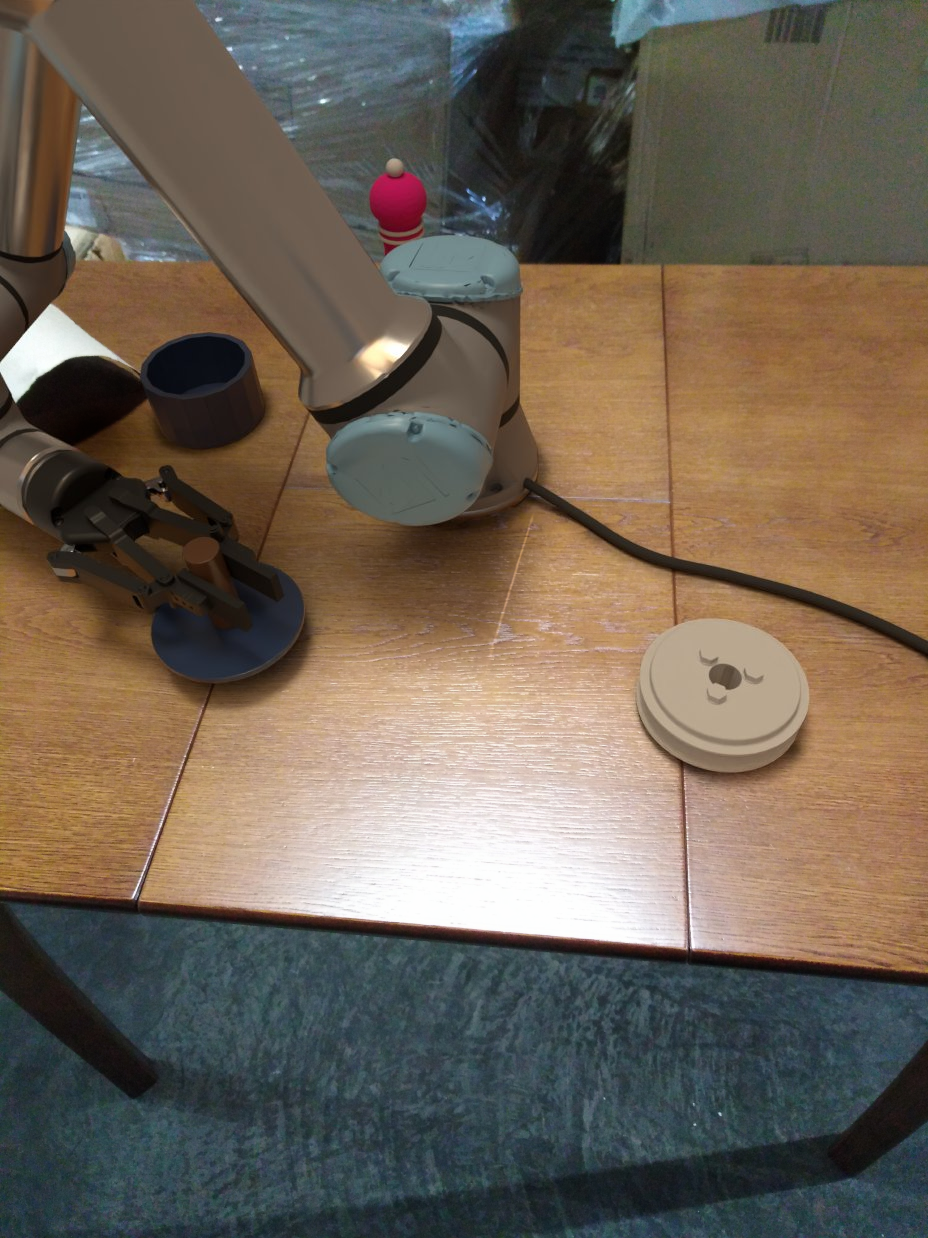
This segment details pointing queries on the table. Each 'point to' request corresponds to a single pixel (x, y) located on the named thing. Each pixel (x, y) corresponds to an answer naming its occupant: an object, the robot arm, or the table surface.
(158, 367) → the bowl
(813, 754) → the table surface
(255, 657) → the bowl lid
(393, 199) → the pepper mill
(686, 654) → the beige round base
